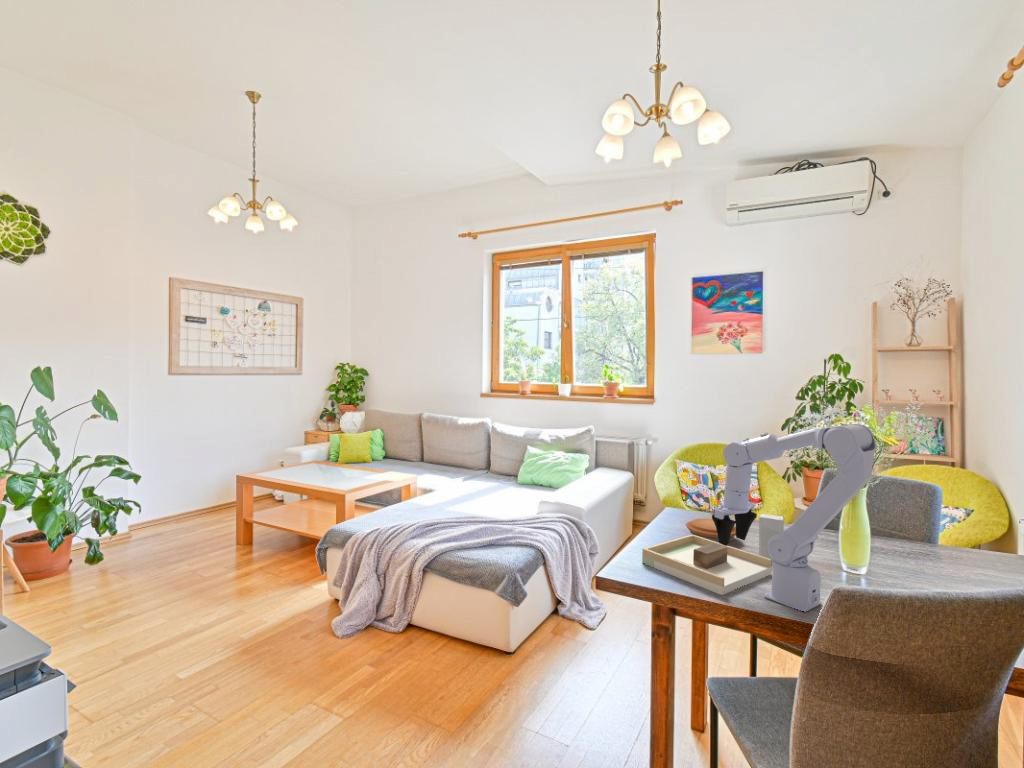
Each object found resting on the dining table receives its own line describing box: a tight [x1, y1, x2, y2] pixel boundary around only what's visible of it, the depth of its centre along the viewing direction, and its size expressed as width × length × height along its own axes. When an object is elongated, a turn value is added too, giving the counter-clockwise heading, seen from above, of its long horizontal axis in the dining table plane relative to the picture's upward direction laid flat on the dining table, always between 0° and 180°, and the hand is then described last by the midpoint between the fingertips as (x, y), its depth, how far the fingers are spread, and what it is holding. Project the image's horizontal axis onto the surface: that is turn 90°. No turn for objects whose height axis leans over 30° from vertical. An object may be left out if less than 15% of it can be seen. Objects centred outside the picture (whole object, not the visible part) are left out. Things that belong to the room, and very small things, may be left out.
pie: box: [685, 518, 736, 543], centre depth 163 cm, size 15×16×5 cm
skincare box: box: [758, 513, 785, 559], centre depth 145 cm, size 6×4×12 cm
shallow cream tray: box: [641, 534, 772, 596], centre depth 138 cm, size 24×22×4 cm
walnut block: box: [693, 543, 727, 569], centre depth 136 cm, size 4×9×4 cm, turn 125°
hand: (732, 541), depth 131 cm, fingers open, 7 cm apart
